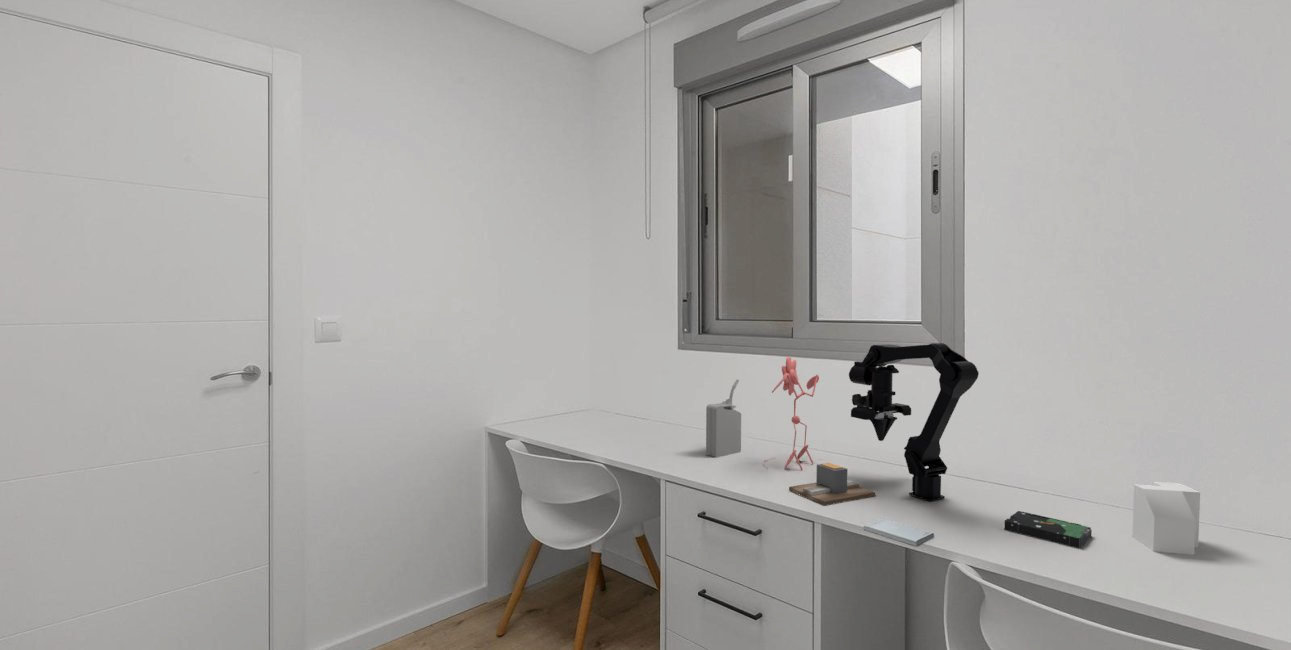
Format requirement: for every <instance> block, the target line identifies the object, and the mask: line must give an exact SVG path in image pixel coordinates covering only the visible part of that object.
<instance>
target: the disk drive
mask: <svg viewBox="0 0 1291 650" xmlns="http://www.w3.org/2000/svg"><path fill="white" fill-rule="evenodd" d="M1003 527H1004V530H1005V531H1009V532H1011V533H1015V534H1016V533H1017V534H1021V535H1025V536H1029V537H1033V538H1037V539H1041V540H1045V541H1049V542H1052V543H1057V544H1060V545H1061V544H1062V545H1065V546H1068V547H1072V548H1073V547H1074V548H1078V549H1082V547H1083V546H1084V545H1085V544H1086V543H1087V542H1088V541H1089V540H1090V539H1091V538H1092V528H1091V527H1089V526H1087V525H1082V524H1079V523H1076V522H1075V523H1074V522H1069V521H1065V520H1061V519H1058V518H1057V519H1056V518H1052V517H1048V516H1044V515H1040V514H1035V513H1030V512H1027V511H1026V512H1025V511H1020V510H1018V511H1016V512H1015V513H1013V514H1012V515H1010V517H1009V518H1006V519H1005V520H1004V526H1003ZM1089 538H1090V539H1089Z"/></svg>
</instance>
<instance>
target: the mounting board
mask: <svg viewBox="0 0 1291 650" xmlns="http://www.w3.org/2000/svg"><path fill="white" fill-rule="evenodd" d="M789 490H790V492H792V493H794V492H795V493H794V494H796V493H798V494H797V495H799V494H800V495H799V496H801V495H802V496H801V497H803V496H804V497H803V498H806V497H807V498H806V499H808V498H809V499H808V500H810V499H812V500H811V501H813V500H814V501H813V502H815V501H816V503H817V502H818V504H820V503H821V505H822V504H823V506H828V505H827V504H829V505H834V504H833V503H835V504H839V502H840V503H844V502H843V501H846V502H850V501H849V500H851V501H854V500H855V499H856V500H860V498H862V499H866V497H867V498H872V497H876V495H877V494H876V491H873V490H871V489H867V488H864V487H862V486H860V483H859V482H857V481H853V480H851V479H850V480H847V492H844V493H838V494H833V493H831V488H830V487H827V486H825V485H820V486H816V482H811V483H805V484H798V485H793V486H788V491H789ZM871 496H872V497H871Z"/></svg>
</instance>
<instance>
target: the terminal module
mask: <svg viewBox="0 0 1291 650" xmlns="http://www.w3.org/2000/svg"><path fill="white" fill-rule="evenodd" d="M847 481H848V468H846V467H843V466H840V465H837V464H834V463H831V462H826V463H819V464H818V463H817V464H816V482H815V483H816V486H820V485H825V486H827V487H830V488H831V493H833V494H838V493H844V492H847Z"/></svg>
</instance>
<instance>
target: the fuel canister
mask: <svg viewBox="0 0 1291 650" xmlns="http://www.w3.org/2000/svg"><path fill="white" fill-rule="evenodd" d="M739 382H740V380H739V379H735V382H734V383H733V385H732V386H731V390H730V393H729V397H728V399H726V400H724V401H721V402H718V403H711V404H707V405H706V409H705V410H706V411H705V412H706V415H705V416H706V417H705V419H706V421H705V428H706V429H705V455H706V456H711V457H715V458H720V457H725V456H728V455H729V456H730V455H732V454H733V455H734V454H737V453H741V452H742V413H741V412H740V411H737V410H736V409H735V408H736V407H737V406H736V405H733V397H734V396H733V395H734V391H735V389H736V388H737V385H738V384H739Z"/></svg>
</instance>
